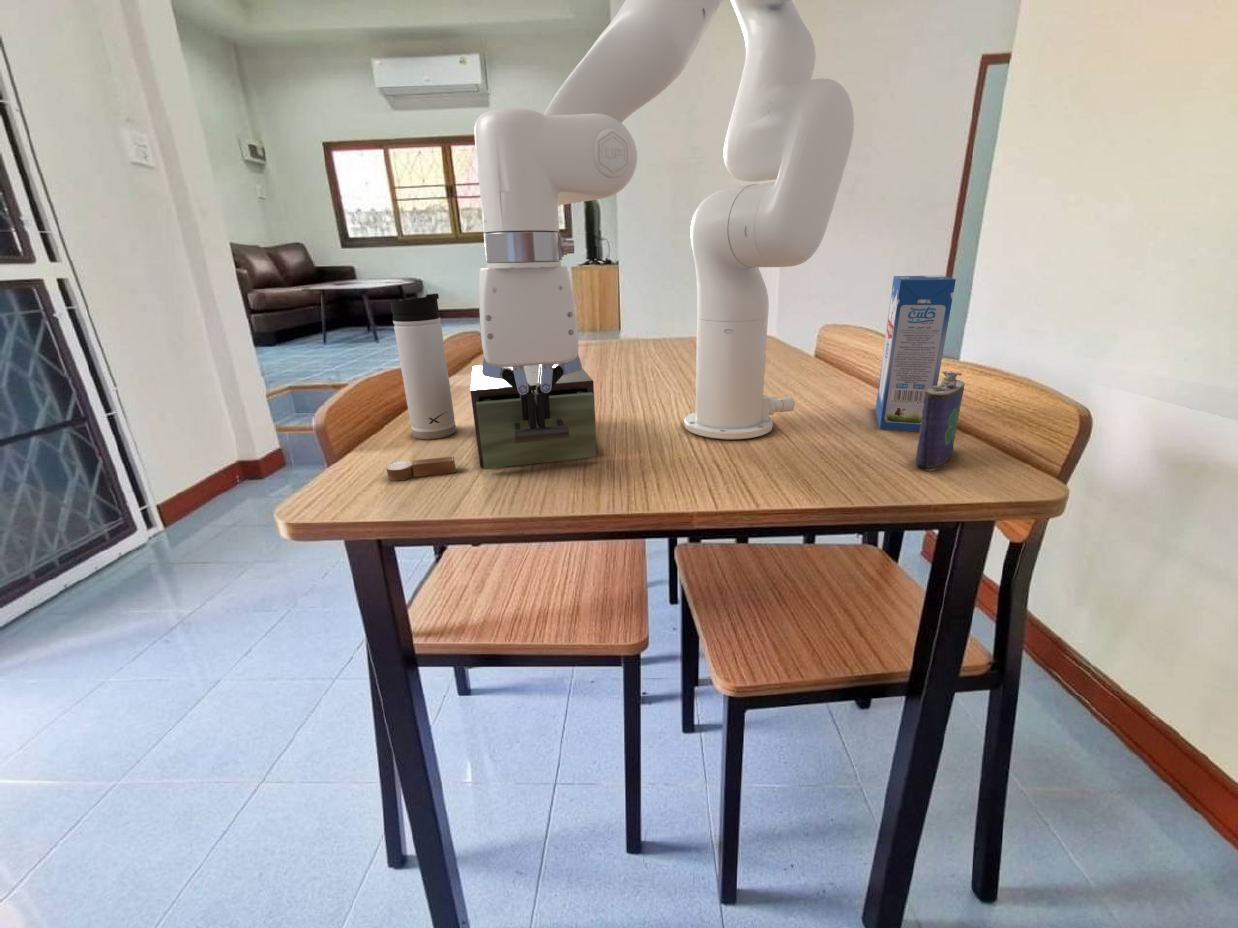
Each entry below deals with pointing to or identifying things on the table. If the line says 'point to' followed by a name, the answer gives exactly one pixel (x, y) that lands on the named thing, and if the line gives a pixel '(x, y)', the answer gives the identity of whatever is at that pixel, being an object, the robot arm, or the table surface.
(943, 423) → the flask
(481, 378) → the cabinet
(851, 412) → the table surface
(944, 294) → the milk carton
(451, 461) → the round-ended wooden bar
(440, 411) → the travel mug
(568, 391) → the drawer
